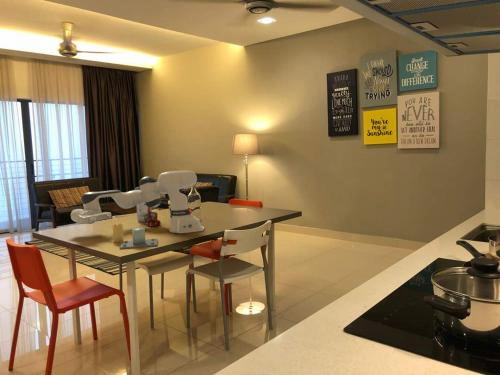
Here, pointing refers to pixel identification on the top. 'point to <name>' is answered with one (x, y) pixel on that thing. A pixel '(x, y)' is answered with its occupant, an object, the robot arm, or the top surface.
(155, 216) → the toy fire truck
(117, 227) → the round brick
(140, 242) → the tower base
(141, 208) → the juice carton
